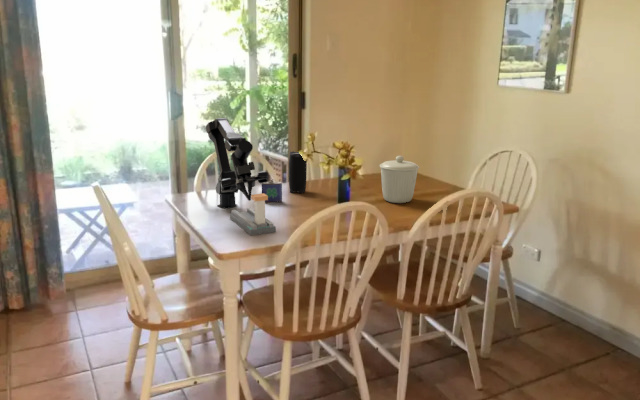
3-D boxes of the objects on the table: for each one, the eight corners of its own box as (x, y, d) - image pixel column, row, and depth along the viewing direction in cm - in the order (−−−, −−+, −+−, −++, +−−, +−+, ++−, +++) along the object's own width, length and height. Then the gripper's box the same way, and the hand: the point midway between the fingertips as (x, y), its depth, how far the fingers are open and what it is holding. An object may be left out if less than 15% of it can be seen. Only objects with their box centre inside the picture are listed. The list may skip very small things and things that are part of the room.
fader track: (229, 218, 220) (229, 210, 219) (252, 215, 225) (252, 207, 224) (250, 235, 200) (250, 226, 199) (275, 231, 204) (275, 223, 203)
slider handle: (251, 224, 205) (250, 194, 202) (263, 222, 208) (263, 193, 205) (256, 228, 201) (255, 197, 198) (268, 226, 203) (268, 196, 200)
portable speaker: (306, 189, 269) (306, 150, 264) (306, 194, 260) (306, 154, 255) (289, 189, 269) (289, 150, 264) (288, 194, 260) (288, 154, 255)
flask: (282, 201, 248) (281, 178, 245) (282, 202, 245) (282, 179, 242) (261, 201, 247) (261, 178, 244) (261, 203, 244) (261, 179, 241)
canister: (416, 207, 241) (419, 160, 235) (376, 204, 244) (377, 158, 239) (417, 197, 258) (420, 153, 252) (379, 194, 261) (381, 151, 256)
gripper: (216, 160, 207) (225, 197, 202) (264, 151, 211) (274, 187, 206) (217, 172, 217) (226, 208, 212) (263, 163, 221) (272, 198, 216)
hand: (249, 200), depth 211 cm, fingers closed
